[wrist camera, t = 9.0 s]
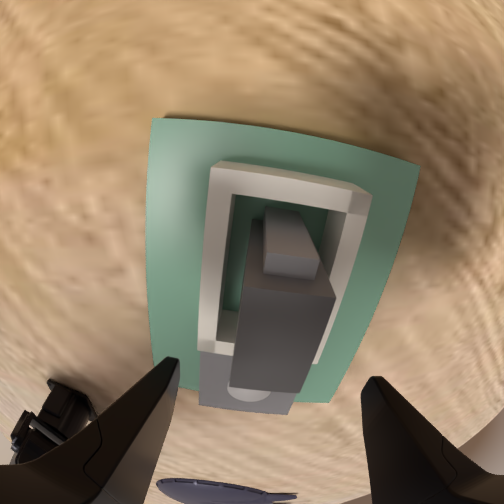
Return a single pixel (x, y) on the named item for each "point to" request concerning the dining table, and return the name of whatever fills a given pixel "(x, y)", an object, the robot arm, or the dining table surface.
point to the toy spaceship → (215, 492)
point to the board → (237, 237)
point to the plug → (280, 305)
